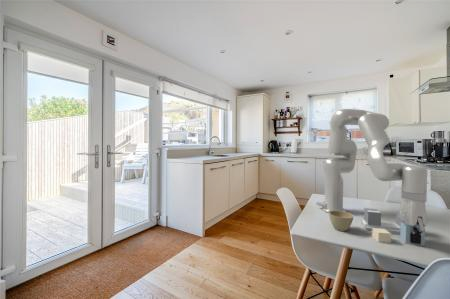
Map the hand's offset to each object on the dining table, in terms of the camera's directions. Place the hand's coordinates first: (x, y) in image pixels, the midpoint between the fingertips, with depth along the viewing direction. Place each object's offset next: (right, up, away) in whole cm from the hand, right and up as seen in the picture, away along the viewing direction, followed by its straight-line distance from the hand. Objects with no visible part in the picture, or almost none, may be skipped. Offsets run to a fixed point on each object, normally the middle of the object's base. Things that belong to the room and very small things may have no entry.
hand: (411, 239), depth 82 cm
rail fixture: (0, 0, +12) cm, 12 cm away
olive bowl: (-22, -1, +12) cm, 25 cm away
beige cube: (-11, -1, +2) cm, 11 cm away
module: (0, -1, 0) cm, 1 cm away
